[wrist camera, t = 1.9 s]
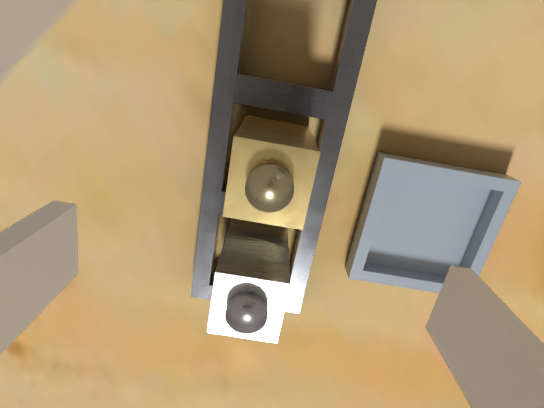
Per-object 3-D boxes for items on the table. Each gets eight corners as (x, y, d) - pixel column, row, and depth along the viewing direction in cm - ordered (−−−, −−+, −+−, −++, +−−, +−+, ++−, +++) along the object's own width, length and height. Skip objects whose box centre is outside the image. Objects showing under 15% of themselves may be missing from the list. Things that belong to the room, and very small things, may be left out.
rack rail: (235, -63, 24) (231, -74, 22) (379, -34, 25) (387, -42, 23) (195, 284, 34) (190, 296, 32) (298, 300, 35) (299, 313, 33)
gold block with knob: (246, 115, 28) (231, 138, 19) (308, 126, 29) (322, 154, 20) (238, 174, 30) (220, 222, 21) (296, 184, 31) (303, 235, 21)
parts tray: (377, 151, 29) (384, 157, 27) (506, 174, 30) (521, 181, 28) (344, 266, 33) (348, 278, 31) (458, 285, 34) (468, 297, 32)
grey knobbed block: (231, 217, 32) (213, 278, 23) (287, 226, 32) (290, 291, 23) (224, 265, 34) (204, 340, 24) (277, 274, 34) (276, 351, 25)
